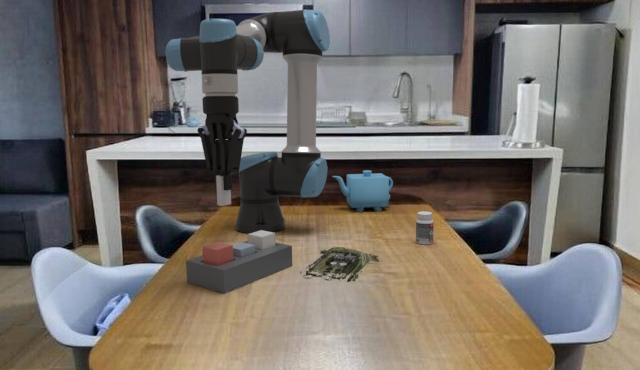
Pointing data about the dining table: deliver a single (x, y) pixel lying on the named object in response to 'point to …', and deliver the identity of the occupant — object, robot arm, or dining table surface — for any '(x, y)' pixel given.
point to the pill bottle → (424, 228)
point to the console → (239, 268)
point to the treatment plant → (340, 263)
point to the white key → (262, 239)
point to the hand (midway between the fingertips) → (224, 204)
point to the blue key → (243, 249)
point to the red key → (217, 253)
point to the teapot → (366, 190)
